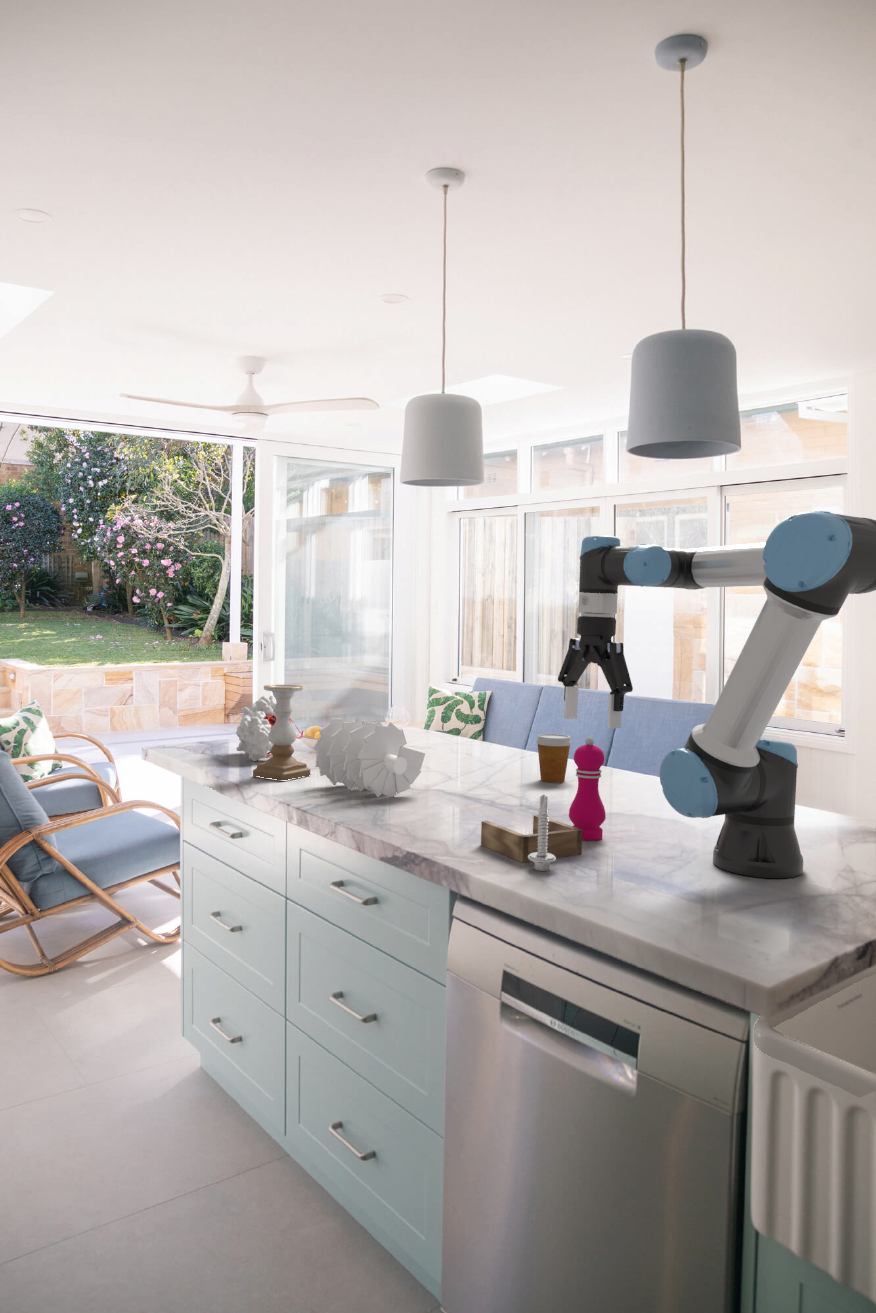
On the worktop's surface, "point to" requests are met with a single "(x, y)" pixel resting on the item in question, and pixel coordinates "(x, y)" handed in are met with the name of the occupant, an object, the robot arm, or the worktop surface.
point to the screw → (542, 839)
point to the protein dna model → (257, 728)
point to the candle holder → (282, 739)
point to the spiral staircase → (367, 756)
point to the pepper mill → (588, 792)
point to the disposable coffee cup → (553, 756)
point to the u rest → (532, 840)
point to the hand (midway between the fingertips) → (591, 723)
